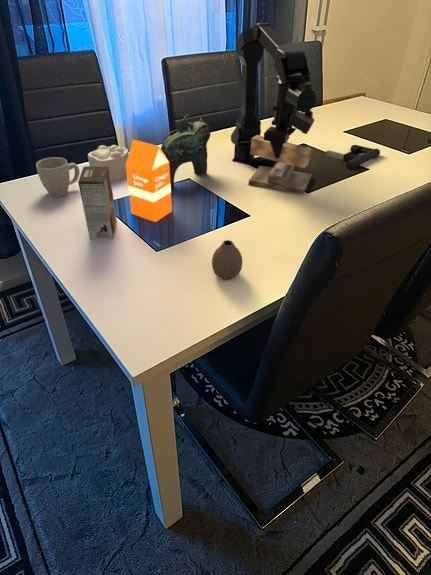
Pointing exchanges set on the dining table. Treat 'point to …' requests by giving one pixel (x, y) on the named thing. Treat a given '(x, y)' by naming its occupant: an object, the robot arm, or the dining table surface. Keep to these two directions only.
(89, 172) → the coffee box
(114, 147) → the lumpy-topped squat cylinder
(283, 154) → the oak beam
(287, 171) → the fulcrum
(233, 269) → the vase
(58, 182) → the mug
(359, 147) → the door handle
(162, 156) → the orange juice
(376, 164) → the dining table surface
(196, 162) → the dark green animal statue
